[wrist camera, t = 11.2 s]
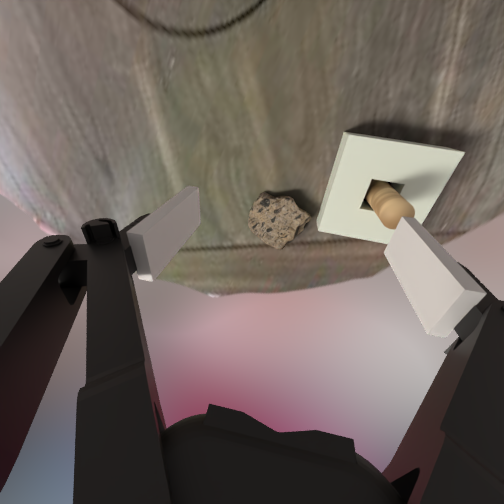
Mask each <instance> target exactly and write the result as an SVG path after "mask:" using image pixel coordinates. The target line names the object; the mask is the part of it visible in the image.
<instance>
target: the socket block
mask: <svg viewBox="0 0 504 504" xmlns="http://www.w3.org/2000/svg"><path fill="white" fill-rule="evenodd" d="M464 153H465V152H462V151H459V150H455V149H452V148H448V147H442V146H436V145H429V144H423V143H416V142H410V141H403V140H396V139H390V138H383V137H377V136H370V135H364V134H357V133H350V132H344V133H343V137H342V140H341V143H340V146H339V150H338V153H337V156H336V159H335V163H334V166H333V169H332V172H331V176H330V179H329V182H328V185H327V188H326V192H325V195H324V198H323V201H322V205H321V208H320V211H319V214H318V218H317V227H318V231H322V232H327V233H332V234H337V235H343V236H348V237H353V238H359V239H364V240H369V241H374V242H380V243H385V244H388V243H389V241H390V239H391V237H392V235H393V233H394V231H395V229H389V228H387V227H385V226H384V225H383V223H382V222H381V221H380V219H379V218H378V216H377V215H376V213H375V212H374V210H373V209H372V207H371V206H370V204H369V203H368V202H367V201H363V199H364V197H365V195H366V192H367V190H368V187H369V185H370V182H371V180H372V179H375V180H381V181H387V182H392V184H391V187H393V188H394V189H395V190H396V191H397V192H398V193H399V194H400V195H401V196H402V197H403V198H405V199H406V200H407V201H408V202H409V203H410V204H411V205H412V206H413V207H414V209H415V216H414V218H416V220H417V221H418V222H419V223H420V224H421V225H422V223H423V221H424V220H425V218H426V216H427V215H428V213H429V211H430V210H431V208H432V206H433V205H434V203H435V201H436V200H437V198H438V196H439V195H440V193H441V192H442V190H443V188H444V187H445V185H446V183H447V182H448V180H449V178H450V177H451V175H452V173H453V172H454V170H455V168H456V167H457V165H458V163H459V162H460V160H461V158H462V157H463V155H464Z"/></svg>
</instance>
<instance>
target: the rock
mask: <svg viewBox="0 0 504 504" xmlns="http://www.w3.org/2000/svg"><path fill="white" fill-rule="evenodd" d="M310 220H311V215H310V214H309V213H307V212H306V211H305V210H302V209H301V208H299V207H298V206H297V205H296V203H295V202H294V199H292V198H291V197H289V196H277V197H273V196H272V195H269V194H267V193H265V192H263V193H261V194H260V196H259V198H258V199H257V200H256V201H255V202H254V203H253V206H252V208H251V210H250V213H249V219H248V225H249V228H250V230H251V231H252V232H253V233H254V234H255V235H256V236H257V237H259V238H260V239H261V240H262V241H263V242H265V243H266V244H268V245H270V246H273V247H275V248H276V249H279V250H280V249H283V248H284V247H285V245H286V243H287V242H288V241H290V240H293V239H294V238H295V236H297V235H299V234H300V232H302V231H303V230H304V226H305V224H306V223H307V222H309V221H310Z"/></svg>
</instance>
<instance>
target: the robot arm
mask: <svg viewBox="0 0 504 504" xmlns="http://www.w3.org/2000/svg"><path fill="white" fill-rule="evenodd" d="M200 224H201V219H200V202H199V187H193V186H187V187H186V188H184V189H183V190H182V191H180V192H179V193H178V194H176V195H175V196H174V197H172V198H171V199H170V200H168V201H167V202H166V203H164V204H163V205H162V206H160V207H159V208H158V209H156V210H155V211H154V212H152V213H151V214H146V215H143V216H141V217H139V218H138V219H136V220H135V221H134V222H132V223H131V224H129V225H128V226H126V227H125V228H124V229H122V230H121V231H120V232H119V230H118V227H117V223H116V221H115V220H113V219H108V218H101V219H95V220H91V221H88V222H86V223H85V224H83V225H82V227H81V229H82V232H83V234H84V237H85V239H86V242H87V244H74V245H73V242H72V240H71V238H70V237H69V236H66V235H51V236H49V237H48V236H47V237H45V238H43V239H41V240H39V241H37V242H36V243H35V244H34V245H33V246H32V247H31V248H30V249H29V250H28V252H27V253H26V254H25V255H24V256H23V257H22V258H21V260H20V261H19V262H18V263H17V264H16V265H15V266H14V268H13V269H12V270H11V271H10V272H9V273H8V274H7V276H6V277H5V278H4V279H3V280H2V281H1V282H0V492H1V490H2V488H3V487H4V485H5V483H6V481H7V479H8V477H9V474H10V472H11V470H12V468H13V466H14V464H15V462H16V460H17V457H18V455H19V453H20V450H21V448H22V446H23V443H24V441H25V438H26V436H27V434H28V431H29V428H30V426H31V424H32V422H33V419H34V417H35V414H36V412H37V409H38V407H39V405H40V402H41V400H42V397H43V395H44V393H45V390H46V388H47V385H48V383H49V381H50V378H51V376H52V373H53V371H54V368H55V366H56V364H57V361H58V359H59V356H60V354H61V352H62V349H63V347H64V344H65V342H66V340H67V337H68V335H69V332H70V330H71V328H72V325H73V323H74V320H75V318H76V316H77V313H78V311H79V308H80V306H81V304H82V301H83V299H84V296H85V294H86V291H87V348H86V351H87V352H86V384H85V387H82V388H80V390H79V392H78V397H77V412H76V439H75V465H74V491H73V492H74V493H73V504H504V301H501V300H498V299H497V298H496V297H495V296H494V295H493V294H492V293H491V292H490V291H489V290H488V289H487V288H486V287H485V286H484V285H483V284H482V283H480V281H479V280H478V279H477V278H476V277H475V276H474V275H473V274H472V273H471V272H470V271H469V270H468V269H467V268H466V267H464V266H463V265H461V264H460V263H458V262H456V260H455V259H454V258H453V257H452V256H451V255H450V254H449V253H448V252H447V251H446V250H445V249H444V248H443V247H442V246H441V245H440V244H439V243H438V242H437V241H436V239H435V238H434V237H433V236H432V235H431V234H430V233H429V232H428V231H427V230H426V229H425V228H424V227H423V226H422V225H421V224H420V223H419V222H418V221H417V220H416V218H411V217H404V216H402V217H401V219H400V221H399V223H398V225H397V227H396V229H395V231H394V233H393V235H392V237H391V239H390V241H389V243H388V245H387V247H386V249H385V251H384V254H385V256H386V258H387V260H388V262H389V263H390V265H391V267H392V269H393V271H394V273H395V274H396V277H397V278H398V280H399V282H400V284H401V286H402V288H403V289H404V292H405V293H406V295H407V297H408V299H409V301H410V303H411V305H412V307H413V308H414V310H415V312H416V314H417V316H418V318H419V320H420V322H421V323H422V325H423V327H424V329H425V331H426V333H427V334H428V335H432V336H438V337H443V338H446V337H447V336H448V335H449V334H450V333H451V332H452V331H453V330H455V331H456V333H457V334H458V336H459V337H458V338H457V339H456V340H455V342H454V343H453V344H452V345H451V346H450V347H449V348H448V349H447V350H446V351H445V352H444V353H446V354H447V356H446V358H445V360H444V362H443V364H442V366H441V367H440V369H439V371H438V373H437V375H436V377H435V379H434V381H433V383H432V385H431V387H430V389H429V390H428V392H427V394H426V396H425V398H424V400H423V402H422V404H421V405H420V407H419V409H418V411H417V413H416V415H415V417H414V419H413V421H412V423H411V425H410V426H409V428H408V430H407V432H406V434H405V436H404V438H403V440H402V442H401V444H400V445H399V447H398V449H397V451H396V453H395V455H394V457H393V459H392V460H391V462H390V464H389V465H388V466H387V468H386V469H385V470H384V471H383V472H382V473H381V472H380V471H379V470H378V469H377V468H375V467H374V466H373V465H372V464H371V463H370V462H369V461H367V460H366V459H364V458H363V457H362V456H361V455H359V454H357V453H356V452H355V447H354V440H353V439H350V438H346V437H342V436H338V435H334V434H330V433H326V432H322V431H318V430H310V431H298V432H297V431H296V432H276V431H274V430H273V429H271V428H269V427H267V426H266V425H264V424H262V423H261V422H259V421H257V420H256V419H254V418H252V417H251V416H249V415H247V414H245V413H244V412H241V411H236V410H233V409H229V408H225V407H221V406H216V405H212V404H209V407H208V410H207V413H206V414H199V415H194V416H191V417H188V418H185V419H183V420H181V421H179V422H177V423H175V424H173V425H171V426H170V427H168V428H166V424H165V420H164V416H163V413H162V409H161V405H160V400H159V396H158V392H157V387H156V383H155V378H154V373H153V369H152V364H151V360H150V355H149V351H148V347H147V341H146V337H145V333H144V328H143V324H142V319H141V314H140V309H139V305H138V301H137V296H136V291H135V287H134V282H133V278H132V274H133V273H134V272H135V271H136V270H137V273H138V277H139V279H142V280H147V281H152V282H153V281H154V280H155V279H156V277H157V276H158V275H159V274H160V273H161V271H162V270H163V269H164V268H165V267H166V265H167V264H168V263H169V262H170V260H171V259H172V258H173V257H174V256H175V254H176V253H177V252H178V251H179V249H180V248H181V247H182V246H183V245H184V243H185V242H186V241H187V240H188V238H189V237H190V236H191V235H192V234H193V232H194V231H195V230H196V229H197V227H198V226H199V225H200Z"/></svg>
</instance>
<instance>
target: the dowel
mask: <svg viewBox="0 0 504 504" xmlns="http://www.w3.org/2000/svg"><path fill="white" fill-rule="evenodd" d="M365 199H366V200H367V201H368V203H369V204H370V206H371V207H372V209H373V210H374V212H375V213H376V215H377V216H378V218H379V219H380V221H381V222H382V223H383V225H384V226H385V227H387V228H389V229H396V227H397V225H398V223H399V221H400V219H401V217H402V216H404V217H411V218H414V216H415V209H414V207H413V206H412V205H411V204H410V203H409V202H408V201H407V200H406V199H405V198H403V197H402V196H401V195H400V194H399V193H398V192H397V191H396V190H395V189H394V188H393V187H391V186H390V185H389V184H388V183H387V182H386V181H381V180H375V179H372V180H371V182H370V185H369V187H368V190H367V192H366V195H365Z"/></svg>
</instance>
